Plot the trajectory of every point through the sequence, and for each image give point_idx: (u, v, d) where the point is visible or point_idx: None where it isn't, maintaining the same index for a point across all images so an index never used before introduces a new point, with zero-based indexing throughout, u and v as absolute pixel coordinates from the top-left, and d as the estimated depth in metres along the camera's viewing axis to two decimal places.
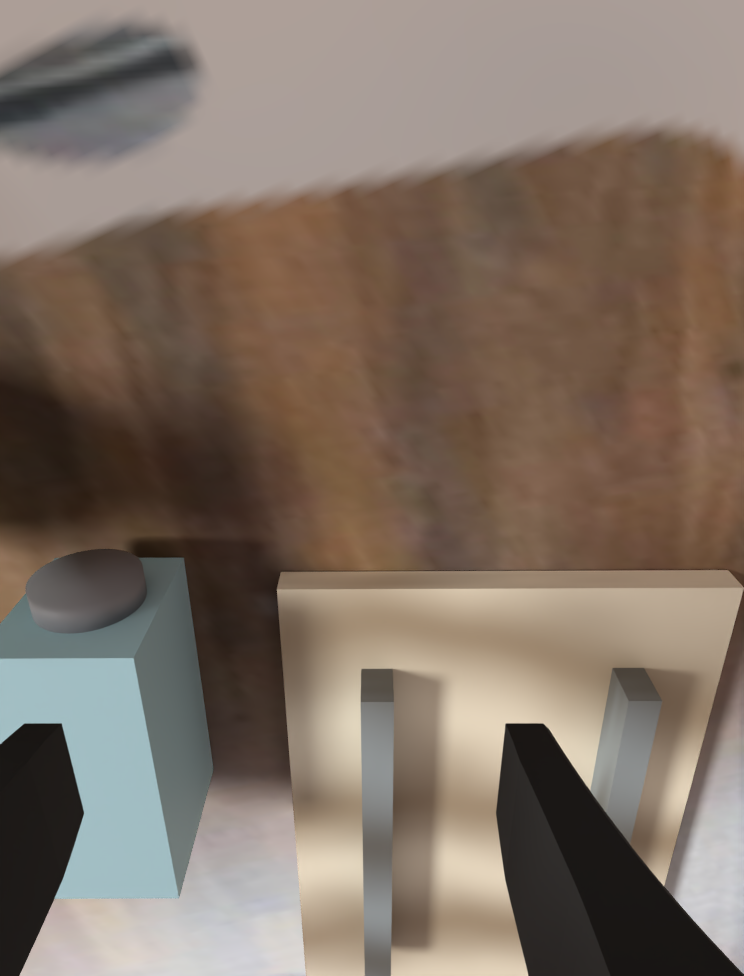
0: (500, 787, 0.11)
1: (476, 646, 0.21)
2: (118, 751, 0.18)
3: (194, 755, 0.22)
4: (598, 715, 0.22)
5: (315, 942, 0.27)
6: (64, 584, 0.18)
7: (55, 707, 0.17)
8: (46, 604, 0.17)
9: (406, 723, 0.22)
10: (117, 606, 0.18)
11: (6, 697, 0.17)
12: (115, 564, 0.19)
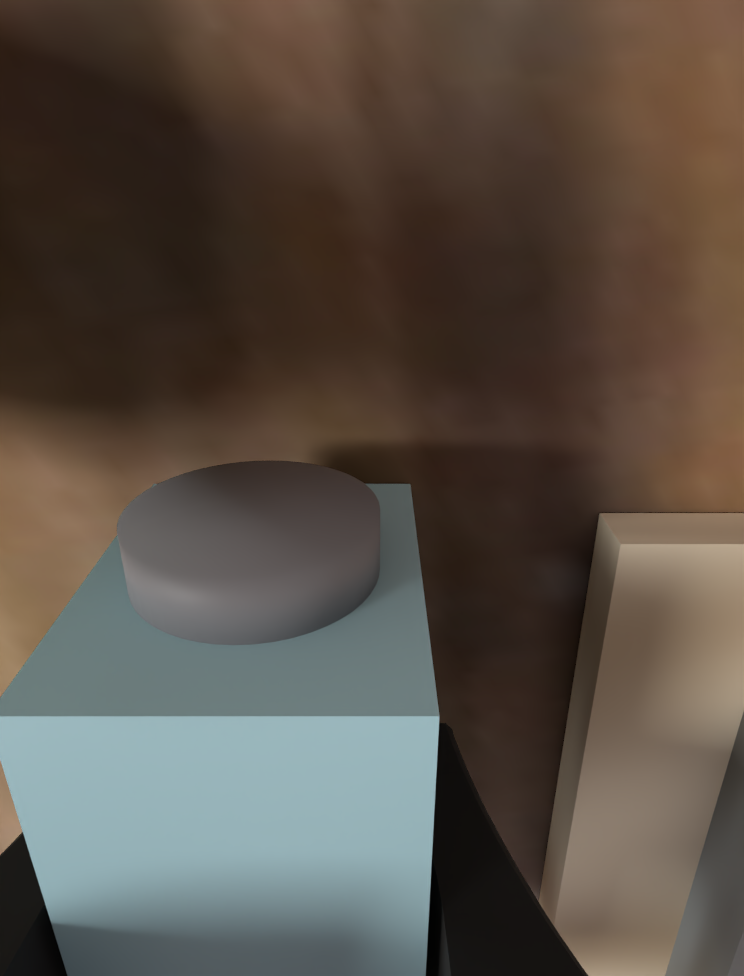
0: None
1: None
2: (346, 937, 0.07)
3: None
4: None
5: None
6: (209, 525, 0.08)
7: (204, 838, 0.07)
8: (181, 569, 0.07)
9: None
10: (347, 578, 0.07)
11: (78, 814, 0.06)
12: (308, 488, 0.08)
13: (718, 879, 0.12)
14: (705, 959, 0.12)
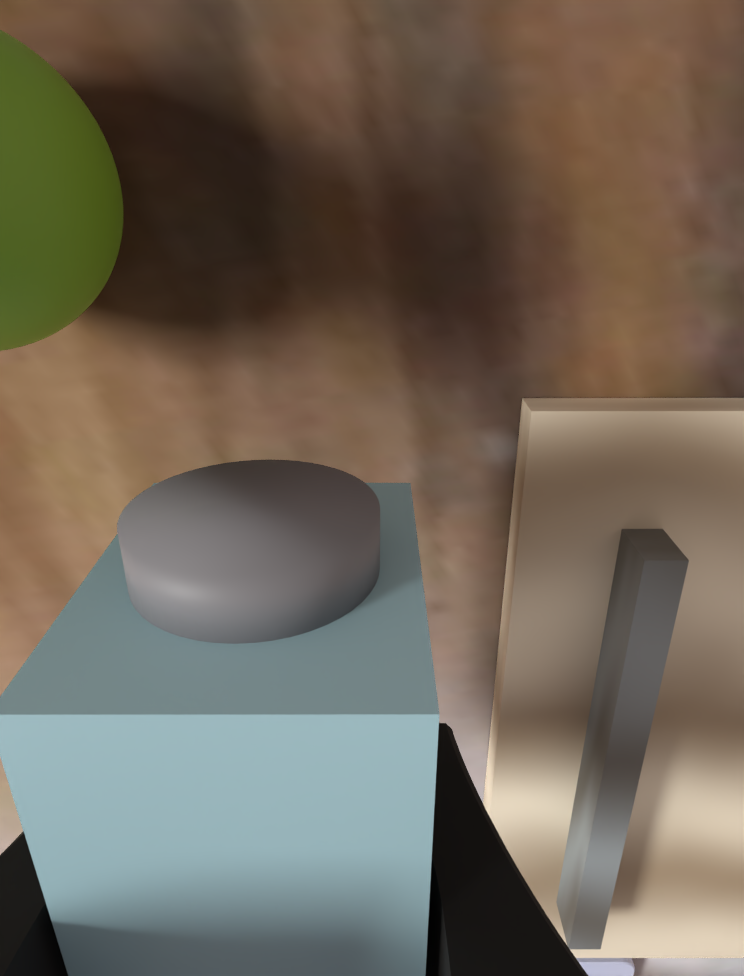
0: None
1: None
2: (346, 934, 0.07)
3: None
4: None
5: None
6: (209, 524, 0.08)
7: (204, 836, 0.07)
8: (181, 567, 0.07)
9: None
10: (347, 576, 0.07)
11: (78, 812, 0.07)
12: (309, 487, 0.08)
13: (609, 657, 0.17)
14: (603, 718, 0.18)
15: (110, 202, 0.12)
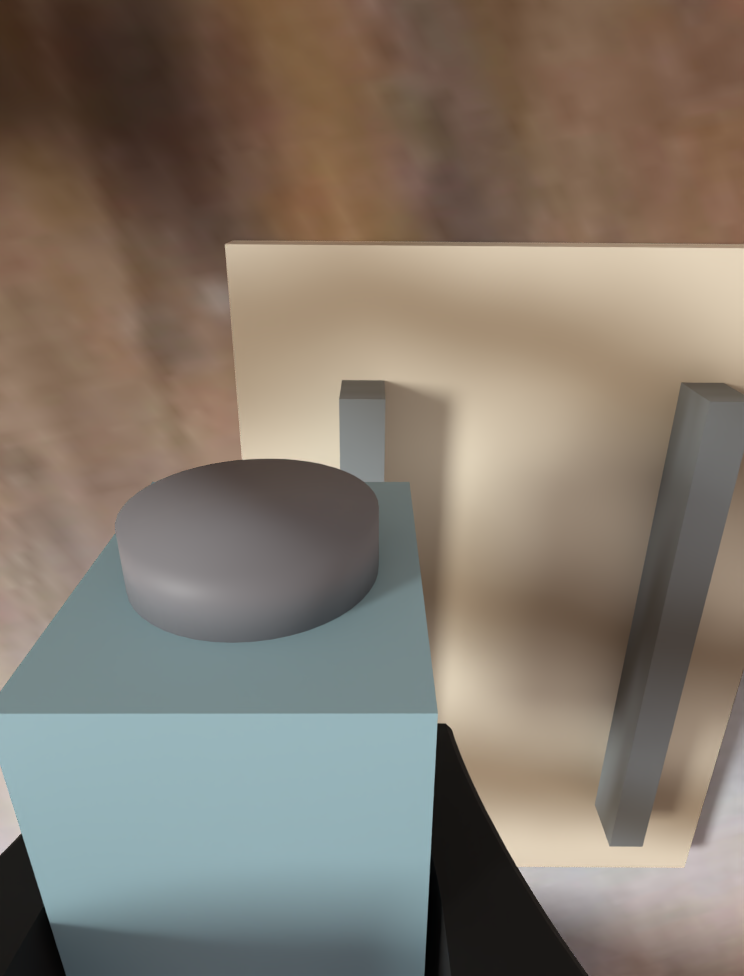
0: None
1: (498, 343, 0.16)
2: (345, 934, 0.07)
3: None
4: (658, 460, 0.17)
5: None
6: (207, 523, 0.08)
7: (204, 836, 0.07)
8: (179, 567, 0.07)
9: (402, 469, 0.17)
10: (346, 575, 0.07)
11: (76, 811, 0.06)
12: (307, 485, 0.08)
13: None
14: None
15: None
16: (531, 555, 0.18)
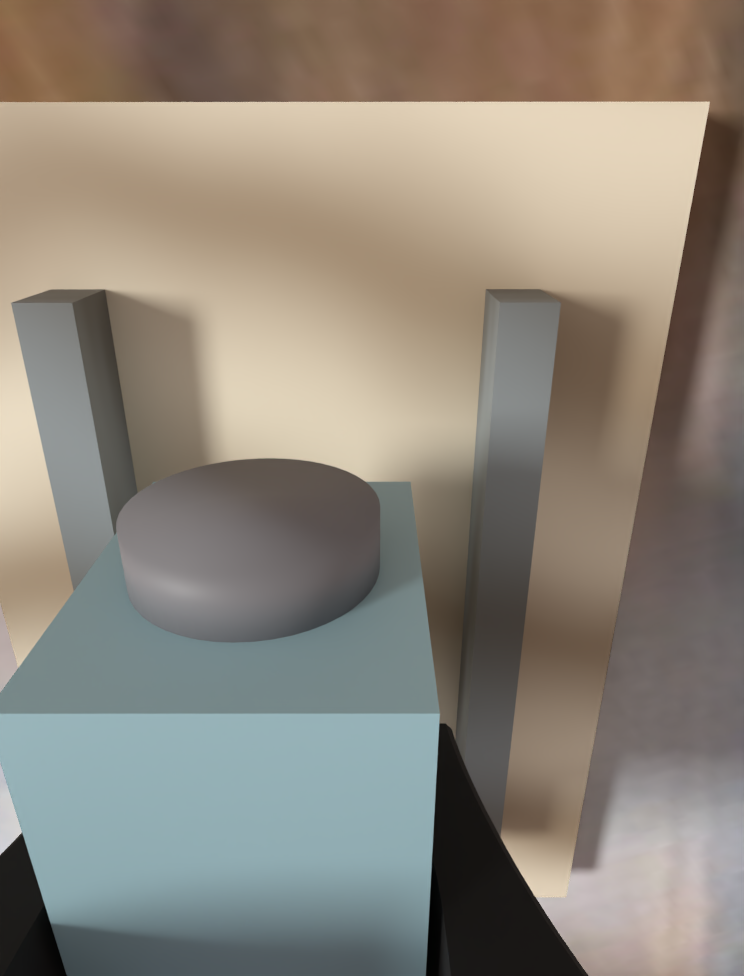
0: None
1: (243, 238, 0.12)
2: (346, 934, 0.07)
3: None
4: (469, 393, 0.13)
5: None
6: (208, 523, 0.07)
7: (205, 836, 0.07)
8: (181, 567, 0.07)
9: (148, 408, 0.13)
10: (347, 575, 0.07)
11: (77, 812, 0.06)
12: (308, 484, 0.08)
13: None
14: None
15: None
16: None
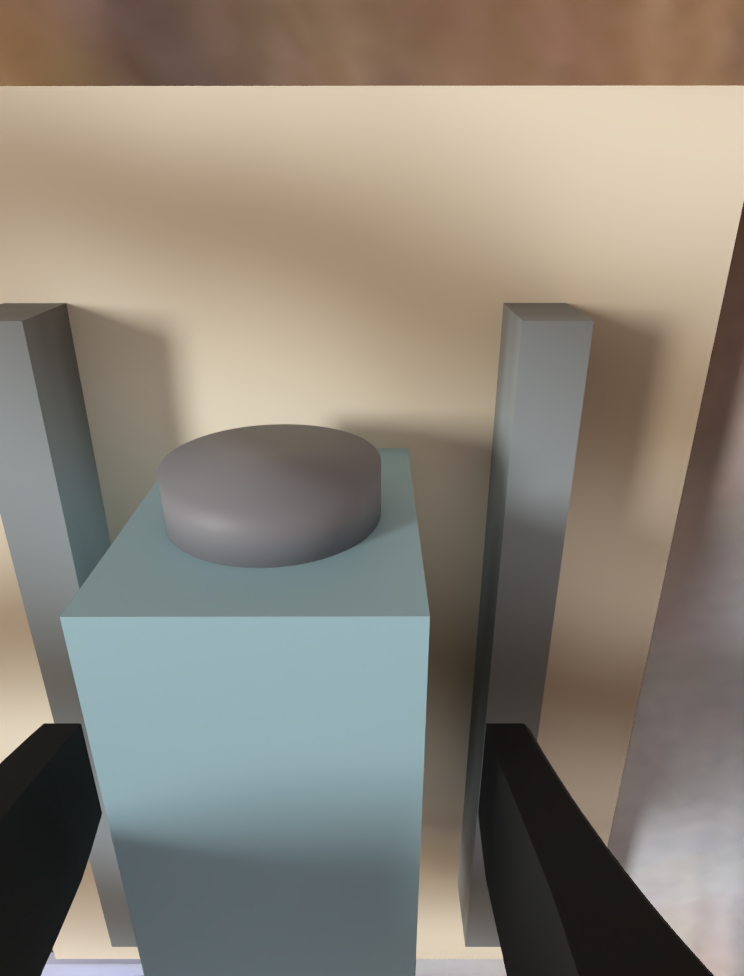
0: (481, 787, 0.11)
1: (224, 244, 0.10)
2: (353, 817, 0.09)
3: None
4: (483, 420, 0.12)
5: None
6: (235, 472, 0.09)
7: (236, 726, 0.08)
8: (216, 503, 0.08)
9: (118, 437, 0.12)
10: (354, 514, 0.09)
11: (131, 704, 0.08)
12: (319, 444, 0.10)
13: None
14: None
15: None
16: None
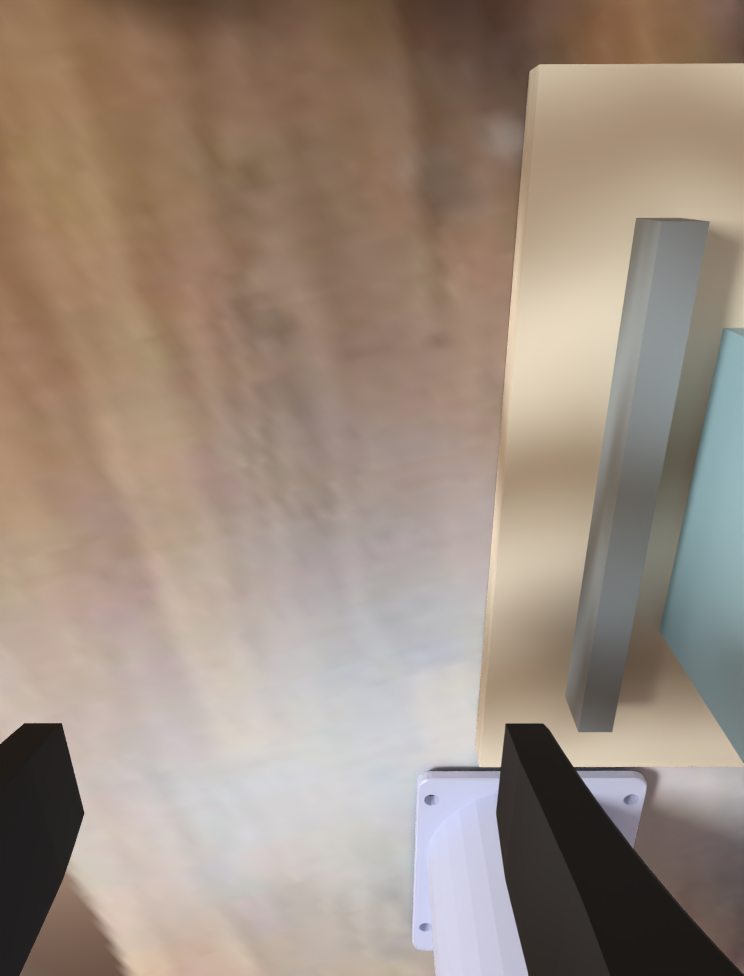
0: (500, 787, 0.11)
1: None
2: None
3: None
4: None
5: (501, 695, 0.21)
6: None
7: None
8: None
9: None
10: None
11: None
12: None
13: (622, 371, 0.16)
14: (615, 445, 0.17)
15: None
16: None
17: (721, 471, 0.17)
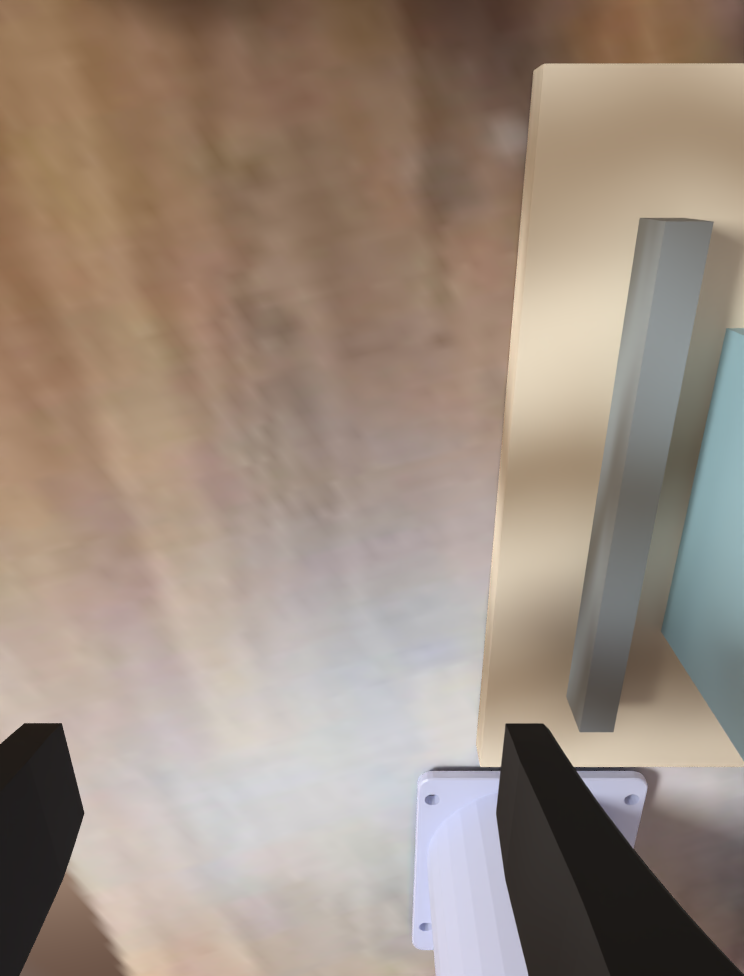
0: (500, 787, 0.11)
1: None
2: None
3: None
4: None
5: (502, 694, 0.21)
6: None
7: None
8: None
9: None
10: None
11: None
12: None
13: (625, 371, 0.16)
14: (618, 445, 0.17)
15: None
16: None
17: (724, 471, 0.16)
